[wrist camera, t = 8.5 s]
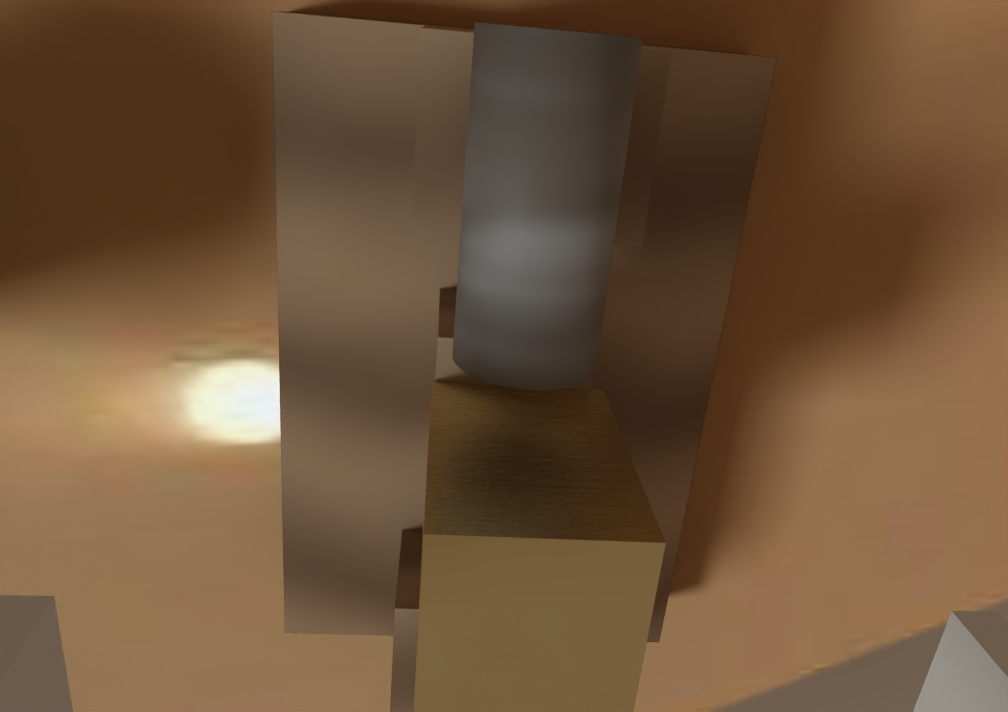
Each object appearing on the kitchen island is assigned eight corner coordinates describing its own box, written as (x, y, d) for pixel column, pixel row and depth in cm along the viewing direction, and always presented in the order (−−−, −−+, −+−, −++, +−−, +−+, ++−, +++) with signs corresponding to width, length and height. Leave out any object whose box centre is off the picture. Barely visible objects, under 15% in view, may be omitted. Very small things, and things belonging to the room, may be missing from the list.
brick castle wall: (287, 3, 20) (187, -4, 13) (750, 46, 22) (922, 64, 14) (295, 596, 27) (235, 827, 20) (644, 606, 29) (718, 830, 21)
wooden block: (431, 380, 19) (423, 534, 13) (602, 389, 19) (665, 542, 14) (423, 527, 20) (412, 720, 15) (582, 533, 21) (630, 724, 15)
